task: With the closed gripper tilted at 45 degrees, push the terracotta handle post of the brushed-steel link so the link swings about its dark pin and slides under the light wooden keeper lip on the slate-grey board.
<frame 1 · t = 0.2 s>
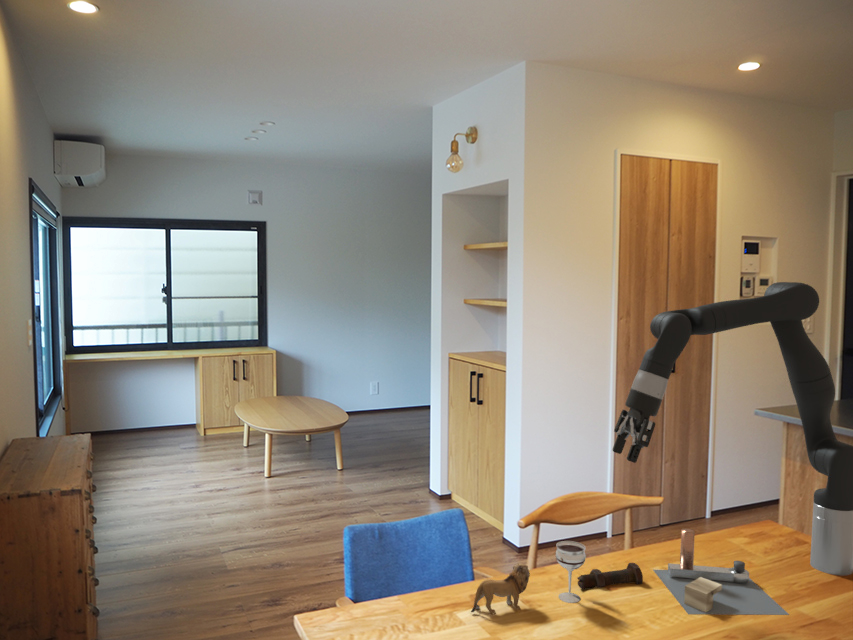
hand: (623, 456, 161), 31 cm above the table, tool tilted 20°, fingers open, 8 cm apart
link: (709, 554, 163), point 7 cm above the table, hinge at 0.0°
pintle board: (716, 595, 157), on the table
wineglass: (569, 598, 156), on the table
bolt: (608, 588, 161), on the table
lion figurine: (501, 607, 151), on the table
keeper: (706, 601, 152), resting on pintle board
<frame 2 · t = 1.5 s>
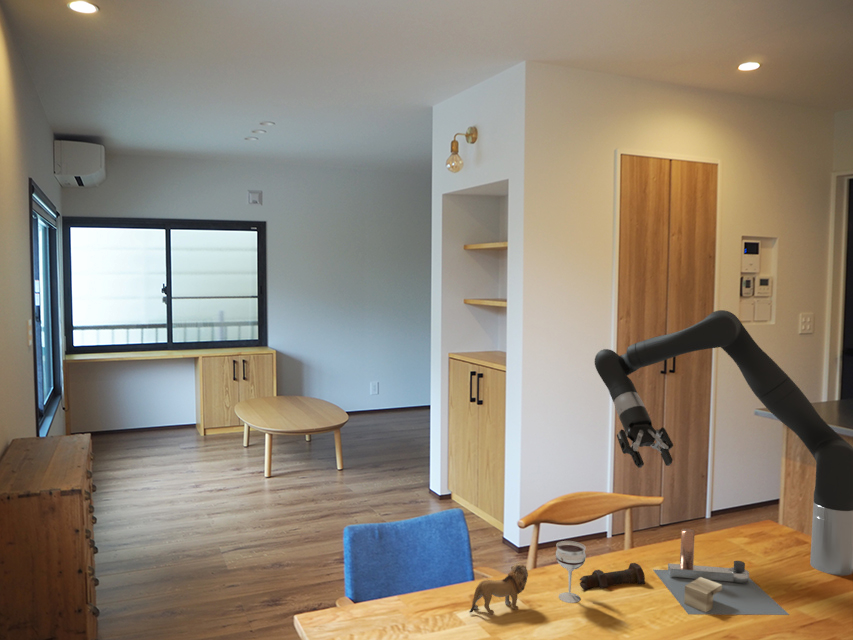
hand: (655, 465, 176), 25 cm above the table, tool tilted 45°, fingers open, 8 cm apart
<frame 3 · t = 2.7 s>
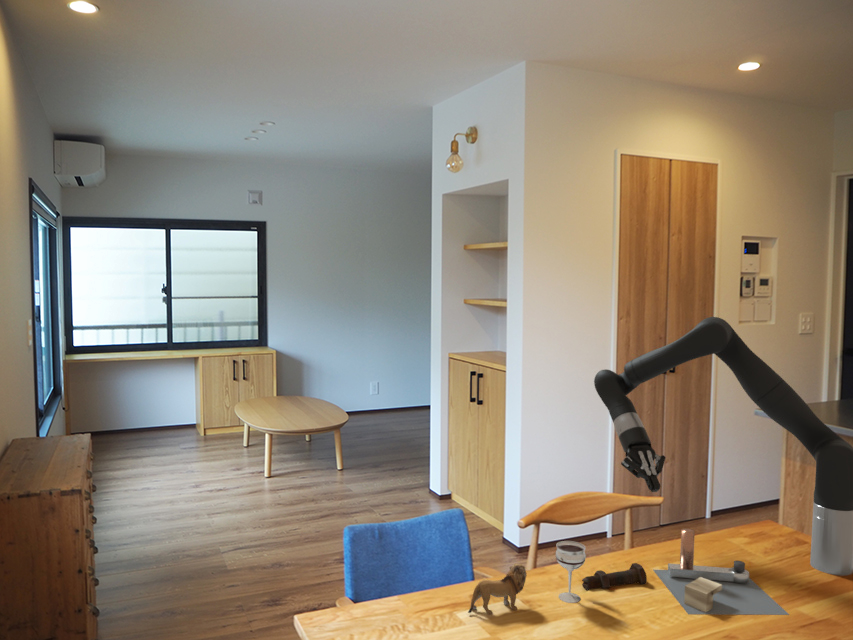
hand: (656, 490, 176), 18 cm above the table, tool tilted 45°, fingers closed
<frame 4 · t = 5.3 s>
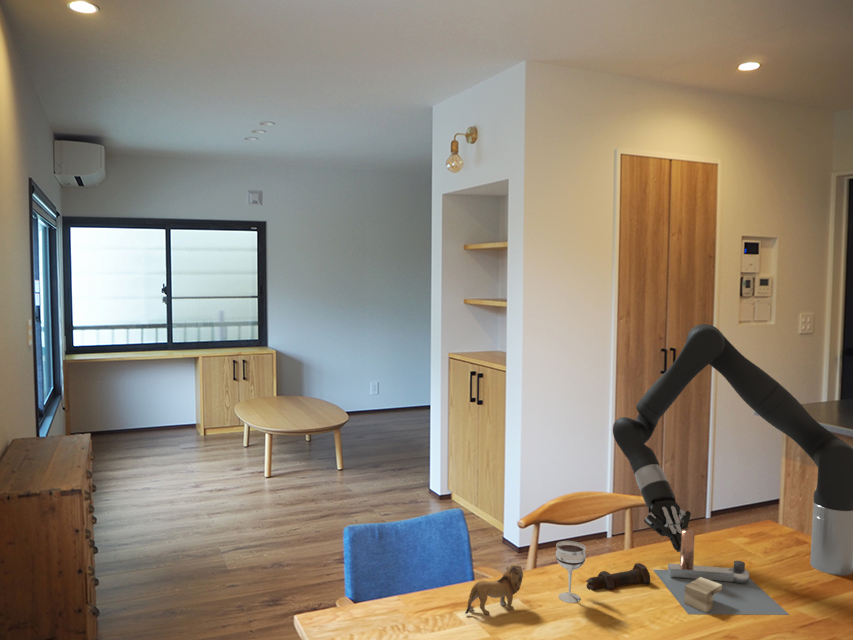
hand: (681, 550, 166), 7 cm above the table, tool tilted 45°, fingers closed
link: (709, 554, 163), point 7 cm above the table, hinge at 0.2°, touching gripper
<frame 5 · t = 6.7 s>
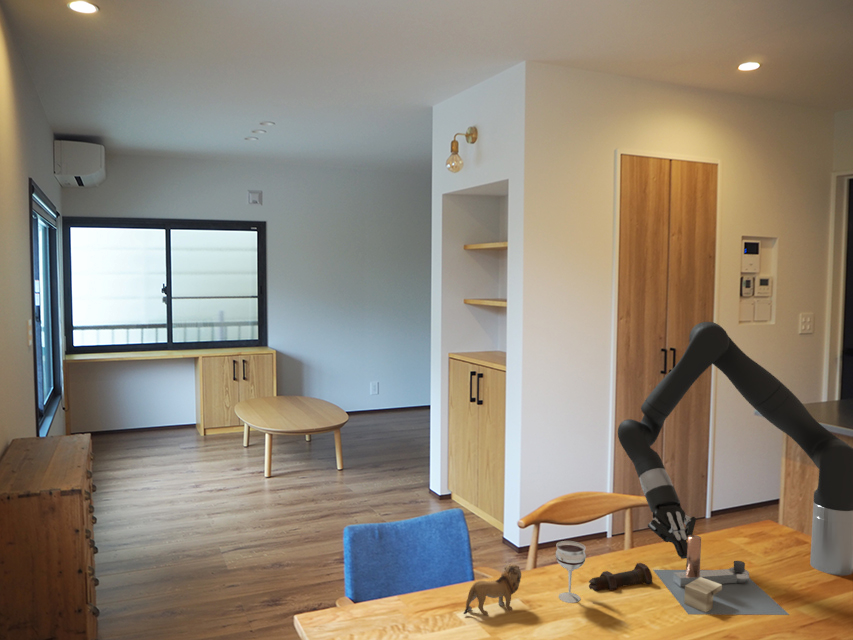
hand: (686, 557, 162), 7 cm above the table, tool tilted 45°, fingers closed
link: (713, 558, 161), point 7 cm above the table, hinge at 18.8°, touching gripper
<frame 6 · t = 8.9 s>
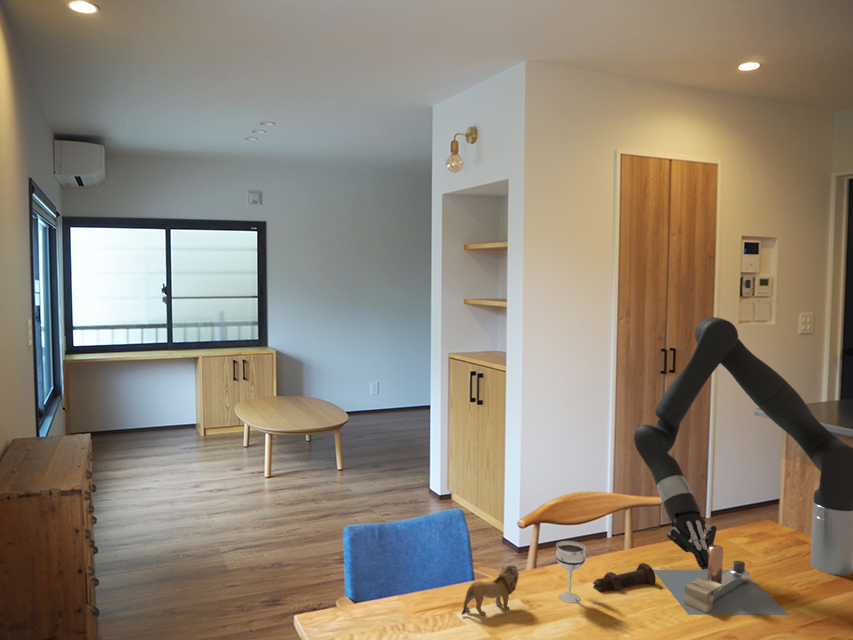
hand: (707, 568, 157), 7 cm above the table, tool tilted 45°, fingers closed
link: (725, 564, 158), point 7 cm above the table, hinge at 49.1°, touching gripper
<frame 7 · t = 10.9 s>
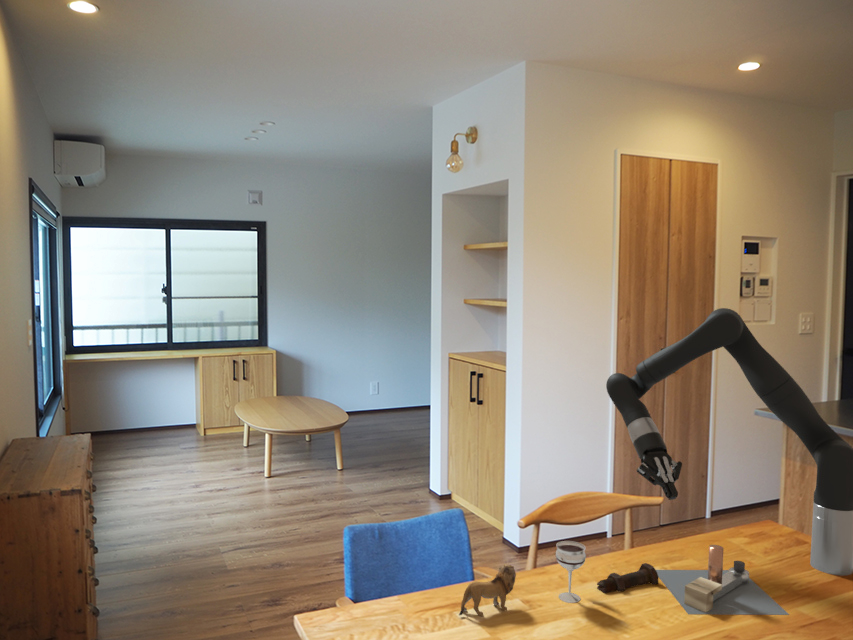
hand: (673, 498, 170), 18 cm above the table, tool tilted 45°, fingers closed
link: (725, 564, 158), point 7 cm above the table, hinge at 49.6°
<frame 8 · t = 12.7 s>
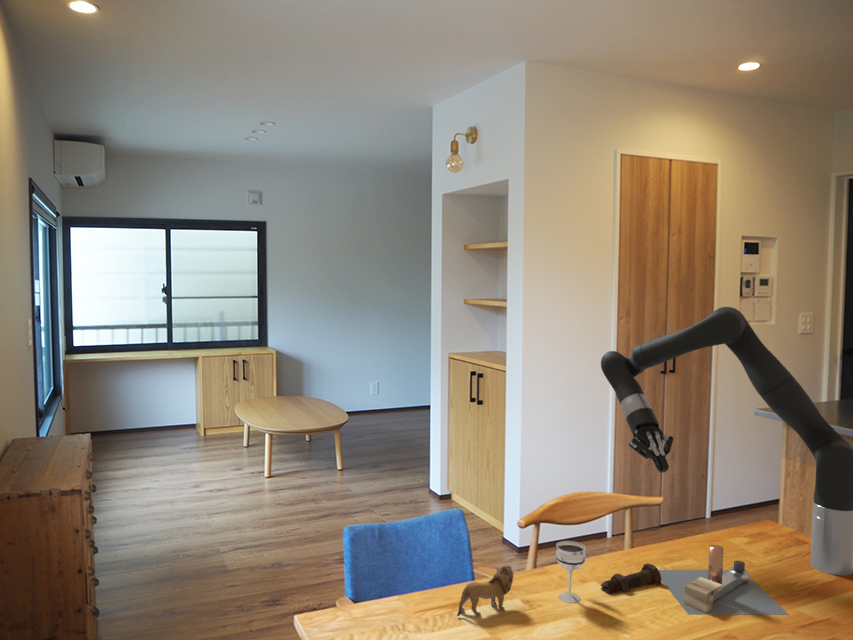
hand: (664, 470, 174), 24 cm above the table, tool tilted 45°, fingers closed
at the end: link at +50° (first picture: +0°) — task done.
